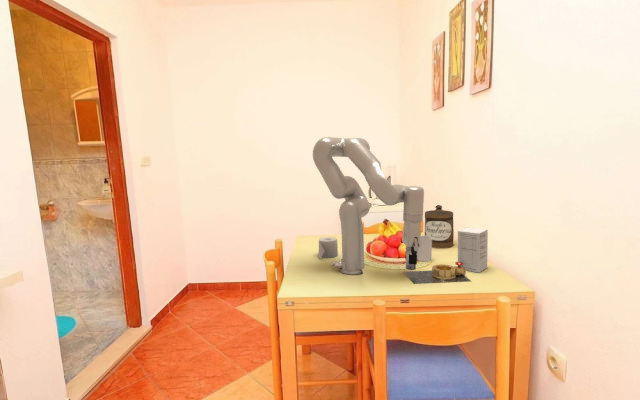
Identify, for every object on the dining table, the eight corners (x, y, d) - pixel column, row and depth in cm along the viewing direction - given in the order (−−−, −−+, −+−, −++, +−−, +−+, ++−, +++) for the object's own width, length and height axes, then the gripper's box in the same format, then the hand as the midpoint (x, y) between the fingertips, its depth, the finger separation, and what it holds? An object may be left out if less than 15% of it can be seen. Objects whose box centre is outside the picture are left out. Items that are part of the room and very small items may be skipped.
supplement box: (488, 267, 151) (488, 229, 149) (479, 273, 144) (480, 233, 142) (465, 263, 158) (466, 226, 155) (456, 268, 151) (457, 230, 149)
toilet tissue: (317, 260, 170) (316, 243, 169) (321, 253, 183) (320, 237, 182) (335, 260, 169) (335, 243, 168) (338, 253, 182) (337, 237, 181)
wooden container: (423, 247, 187) (423, 206, 184) (426, 240, 200) (426, 202, 198) (452, 249, 181) (453, 207, 178) (453, 242, 194) (454, 203, 192)
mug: (431, 265, 157) (431, 239, 155) (416, 264, 159) (416, 238, 157) (432, 258, 166) (432, 234, 165) (417, 258, 168) (417, 233, 167)
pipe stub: (406, 270, 139) (407, 248, 138) (403, 266, 144) (404, 245, 142) (418, 270, 139) (419, 248, 138) (414, 266, 144) (415, 245, 143)
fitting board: (413, 287, 131) (413, 270, 131) (404, 275, 145) (403, 259, 145) (471, 285, 132) (472, 268, 131) (456, 272, 146) (456, 257, 145)
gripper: (398, 213, 147) (396, 255, 149) (409, 222, 130) (407, 269, 133) (416, 213, 147) (414, 255, 150) (429, 222, 130) (426, 269, 133)
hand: (410, 261), depth 141 cm, fingers closed on pipe stub, 4 cm apart
